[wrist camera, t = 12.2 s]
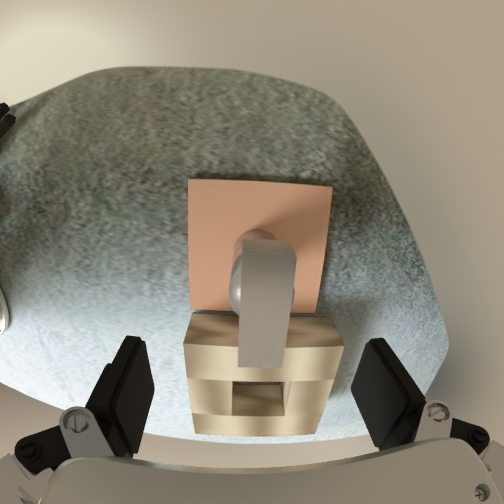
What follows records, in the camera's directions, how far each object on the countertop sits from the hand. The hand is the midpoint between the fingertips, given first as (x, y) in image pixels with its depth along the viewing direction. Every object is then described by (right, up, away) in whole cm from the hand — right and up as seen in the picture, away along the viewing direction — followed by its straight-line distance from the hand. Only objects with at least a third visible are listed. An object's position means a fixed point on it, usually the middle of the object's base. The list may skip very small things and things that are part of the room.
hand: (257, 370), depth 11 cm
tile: (0, +5, +14) cm, 15 cm away
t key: (0, +5, +14) cm, 14 cm away
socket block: (0, -8, +19) cm, 21 cm away
